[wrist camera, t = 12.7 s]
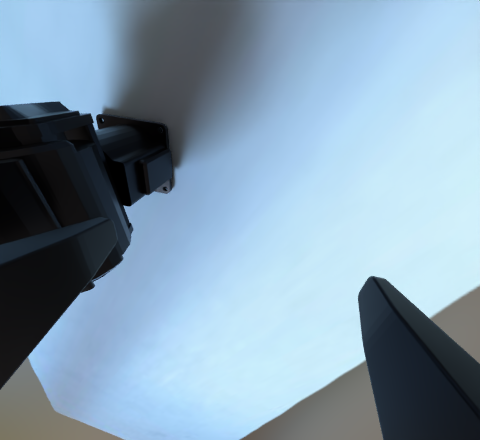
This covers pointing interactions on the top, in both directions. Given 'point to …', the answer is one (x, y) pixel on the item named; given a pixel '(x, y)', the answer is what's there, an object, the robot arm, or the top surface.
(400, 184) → the top surface
